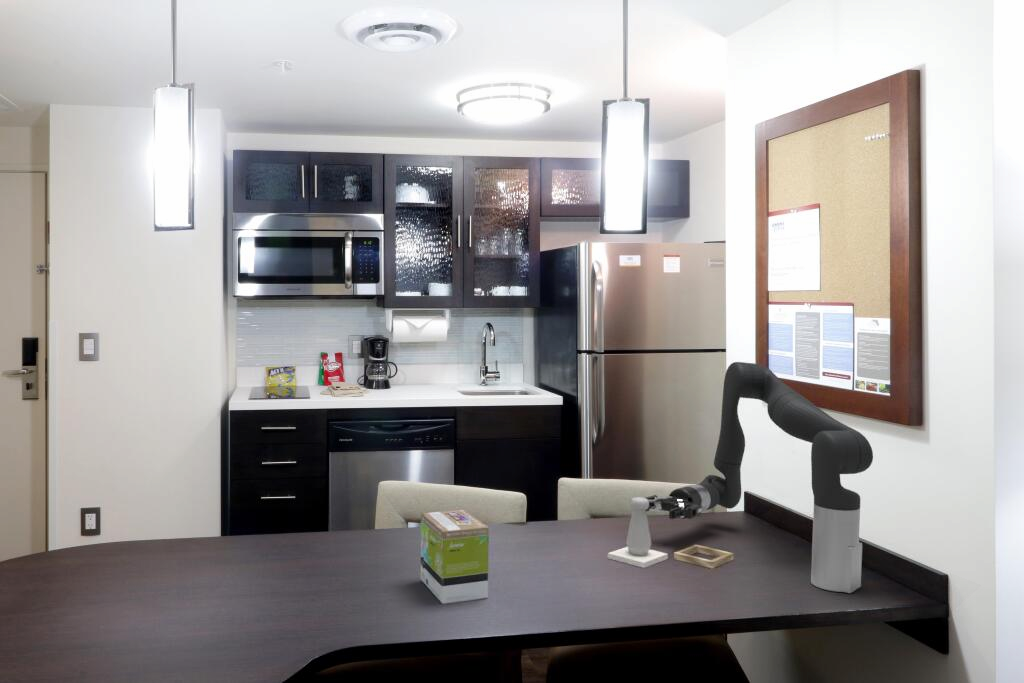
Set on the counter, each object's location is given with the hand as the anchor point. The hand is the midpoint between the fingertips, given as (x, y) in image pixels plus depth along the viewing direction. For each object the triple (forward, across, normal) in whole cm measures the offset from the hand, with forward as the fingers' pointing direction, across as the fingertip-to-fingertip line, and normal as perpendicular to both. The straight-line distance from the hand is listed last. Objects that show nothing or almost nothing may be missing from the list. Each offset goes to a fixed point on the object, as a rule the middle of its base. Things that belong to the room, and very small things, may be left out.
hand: (655, 511), depth 195 cm
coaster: (+7, 0, +10) cm, 12 cm away
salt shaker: (+7, 0, +9) cm, 11 cm away
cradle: (-4, +11, +10) cm, 15 cm away
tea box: (+53, -14, +10) cm, 56 cm away
